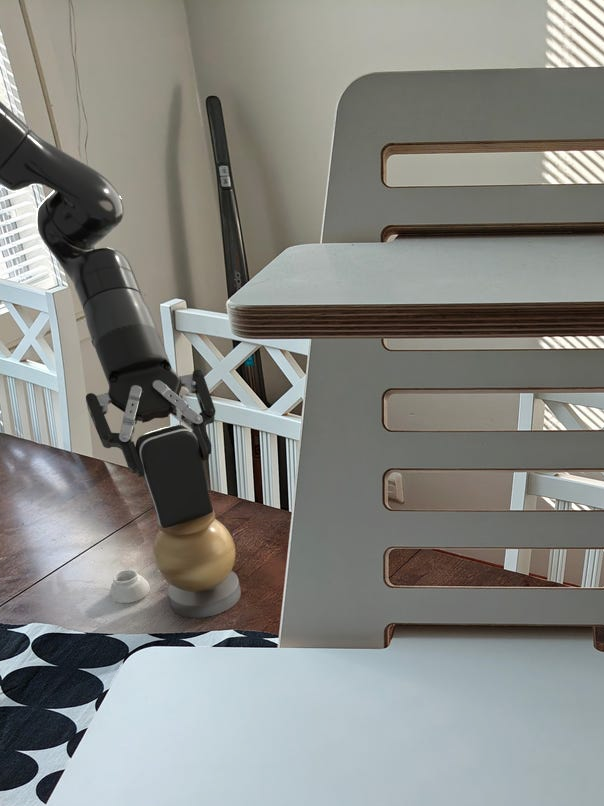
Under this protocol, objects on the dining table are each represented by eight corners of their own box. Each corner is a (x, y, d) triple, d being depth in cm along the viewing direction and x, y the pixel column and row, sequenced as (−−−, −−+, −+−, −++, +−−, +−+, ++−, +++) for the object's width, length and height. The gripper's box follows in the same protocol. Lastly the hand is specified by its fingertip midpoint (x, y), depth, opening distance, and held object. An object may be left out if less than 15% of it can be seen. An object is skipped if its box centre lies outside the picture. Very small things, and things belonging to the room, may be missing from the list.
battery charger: (205, 501, 123) (185, 417, 116) (216, 513, 121) (197, 428, 114) (151, 518, 120) (127, 433, 113) (161, 531, 118) (138, 445, 111)
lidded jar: (163, 624, 124) (139, 541, 116) (171, 581, 131) (148, 500, 124) (243, 615, 125) (224, 532, 117) (246, 572, 132) (228, 492, 125)
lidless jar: (108, 590, 130) (115, 609, 127) (102, 572, 128) (109, 590, 125) (145, 579, 132) (154, 598, 128) (140, 561, 130) (148, 579, 127)
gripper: (61, 336, 110) (111, 470, 109) (186, 310, 115) (235, 439, 114) (66, 366, 117) (113, 493, 116) (185, 341, 122) (231, 462, 121)
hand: (174, 465), depth 115 cm, fingers closed on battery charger, 7 cm apart
